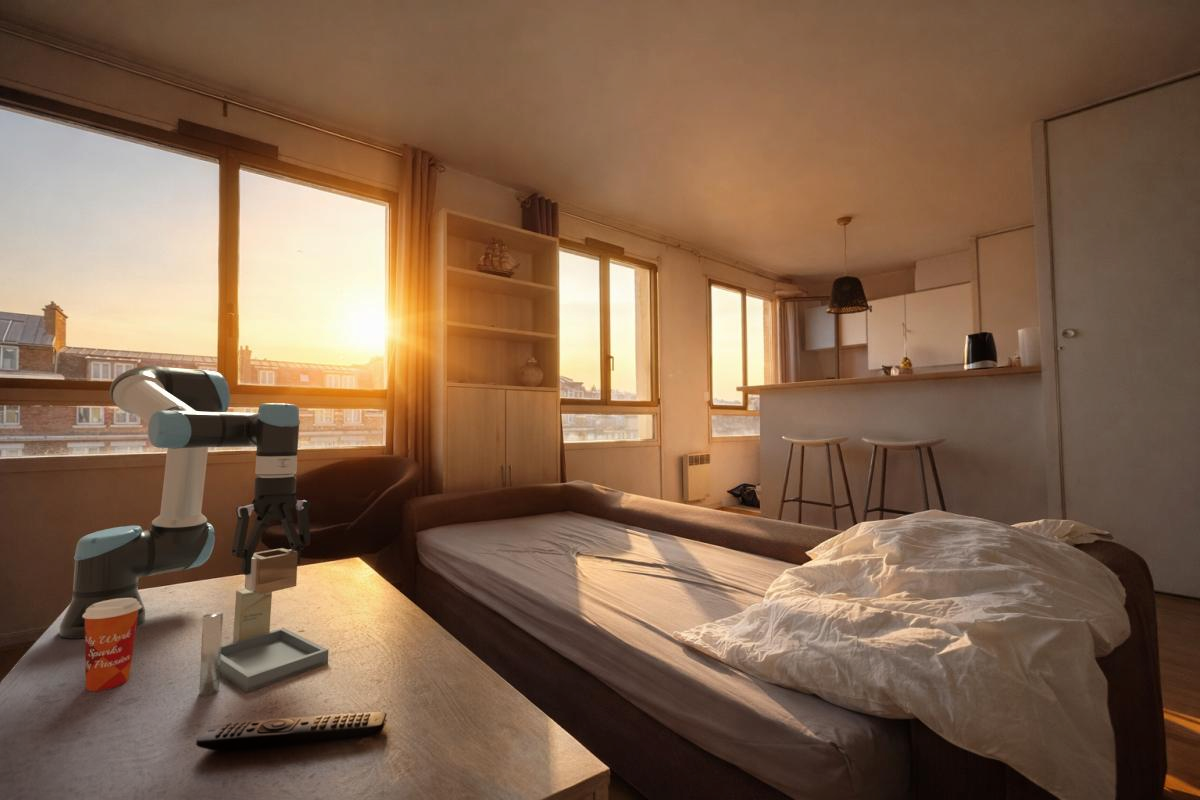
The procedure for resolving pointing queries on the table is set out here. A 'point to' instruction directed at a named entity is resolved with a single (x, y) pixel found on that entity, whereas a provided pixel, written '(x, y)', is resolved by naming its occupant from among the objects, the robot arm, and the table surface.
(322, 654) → the tray
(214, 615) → the pin
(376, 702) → the table surface
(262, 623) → the skincare box
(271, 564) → the bored block
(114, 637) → the coffee cup
